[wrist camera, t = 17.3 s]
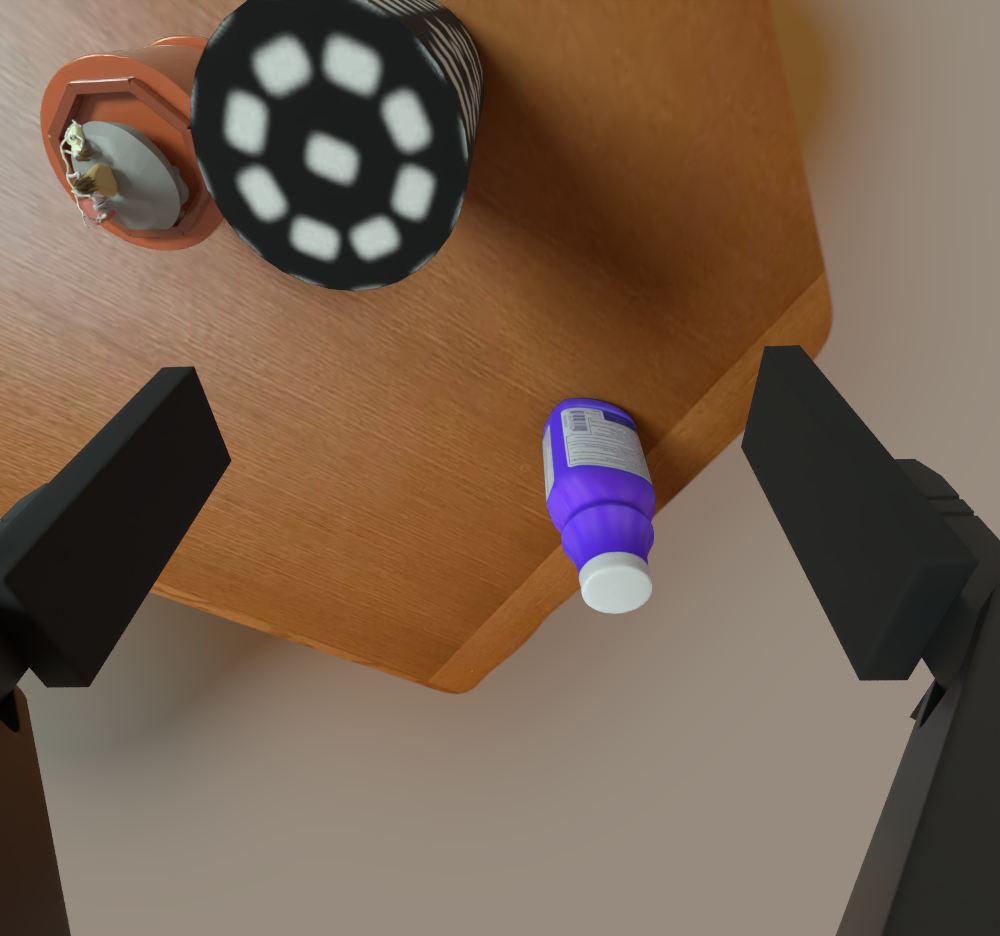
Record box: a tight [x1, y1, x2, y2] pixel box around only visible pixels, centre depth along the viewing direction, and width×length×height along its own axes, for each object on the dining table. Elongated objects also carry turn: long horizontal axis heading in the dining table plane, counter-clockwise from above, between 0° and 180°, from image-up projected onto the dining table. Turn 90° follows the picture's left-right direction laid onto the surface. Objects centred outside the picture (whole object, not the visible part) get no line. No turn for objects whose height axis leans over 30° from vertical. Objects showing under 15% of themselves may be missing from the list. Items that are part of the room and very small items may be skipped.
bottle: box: [543, 398, 656, 613], centre depth 41 cm, size 7×6×17 cm
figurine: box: [60, 120, 189, 230], centre depth 26 cm, size 5×4×6 cm
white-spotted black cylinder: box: [190, 0, 484, 291], centre depth 26 cm, size 8×8×20 cm
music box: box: [40, 35, 227, 250], centre depth 32 cm, size 9×9×10 cm
